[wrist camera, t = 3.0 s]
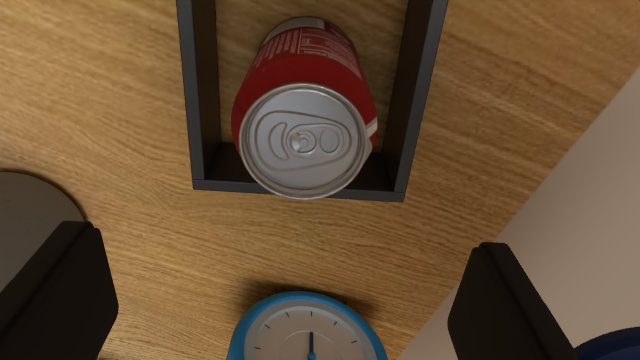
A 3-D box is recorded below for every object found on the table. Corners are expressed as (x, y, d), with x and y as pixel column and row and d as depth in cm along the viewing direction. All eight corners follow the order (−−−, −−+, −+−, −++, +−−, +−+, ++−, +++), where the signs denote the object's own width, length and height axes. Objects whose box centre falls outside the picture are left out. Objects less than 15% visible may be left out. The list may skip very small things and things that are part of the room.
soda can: (252, 15, 26) (211, 69, 16) (359, 13, 26) (388, 65, 16) (262, 115, 30) (233, 213, 19) (356, 114, 30) (378, 210, 19)
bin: (428, -37, 25) (455, -30, 20) (390, 162, 32) (403, 203, 27) (198, -58, 24) (170, -56, 19) (211, 150, 31) (192, 190, 26)
